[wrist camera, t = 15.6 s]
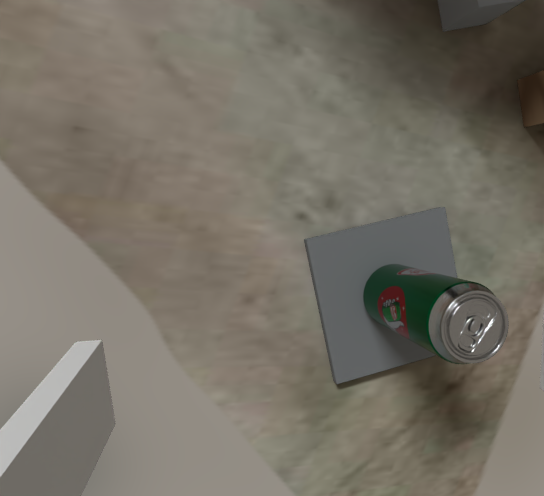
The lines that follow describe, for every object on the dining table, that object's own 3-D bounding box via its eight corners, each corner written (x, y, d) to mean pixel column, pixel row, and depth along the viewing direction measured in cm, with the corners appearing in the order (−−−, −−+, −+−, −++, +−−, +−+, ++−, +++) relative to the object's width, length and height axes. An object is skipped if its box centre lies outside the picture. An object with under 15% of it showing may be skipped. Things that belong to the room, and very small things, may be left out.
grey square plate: (303, 239, 40) (306, 240, 39) (439, 207, 42) (444, 207, 41) (333, 381, 41) (336, 384, 41) (463, 343, 43) (469, 345, 43)
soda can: (428, 279, 41) (528, 307, 30) (401, 334, 41) (490, 383, 30) (378, 252, 40) (460, 269, 29) (349, 308, 40) (421, 348, 29)
